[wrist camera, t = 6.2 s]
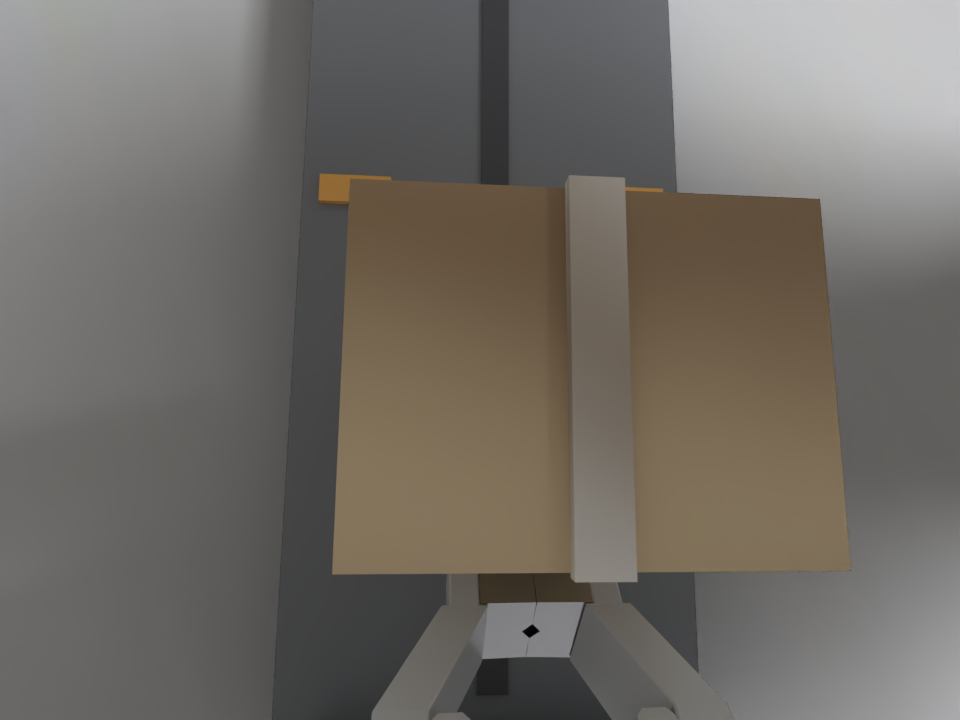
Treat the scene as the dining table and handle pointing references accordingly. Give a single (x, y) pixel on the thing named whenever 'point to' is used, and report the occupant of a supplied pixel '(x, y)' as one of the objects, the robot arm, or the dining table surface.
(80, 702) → the dining table surface
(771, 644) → the dining table surface
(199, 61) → the dining table surface
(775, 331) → the fader knob
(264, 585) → the dining table surface
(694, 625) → the fader track
